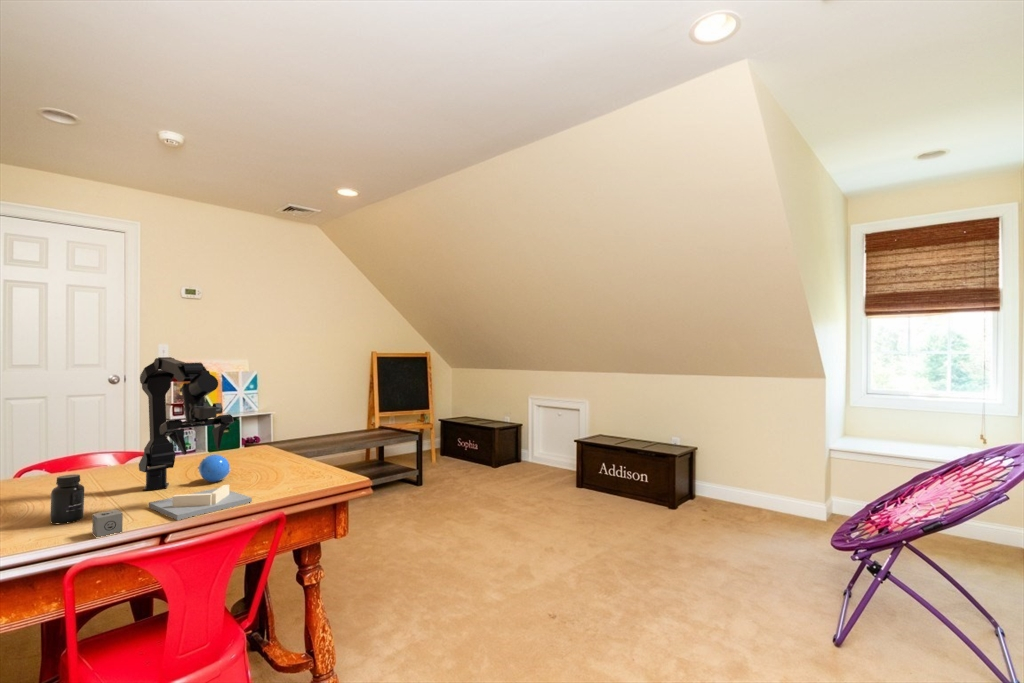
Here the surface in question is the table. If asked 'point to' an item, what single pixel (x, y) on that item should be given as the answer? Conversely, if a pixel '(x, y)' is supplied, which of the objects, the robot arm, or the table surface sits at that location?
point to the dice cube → (107, 523)
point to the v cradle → (199, 502)
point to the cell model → (214, 468)
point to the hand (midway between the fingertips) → (202, 451)
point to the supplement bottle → (67, 500)
